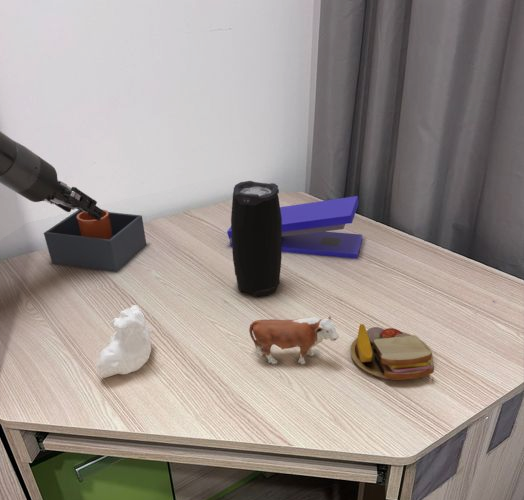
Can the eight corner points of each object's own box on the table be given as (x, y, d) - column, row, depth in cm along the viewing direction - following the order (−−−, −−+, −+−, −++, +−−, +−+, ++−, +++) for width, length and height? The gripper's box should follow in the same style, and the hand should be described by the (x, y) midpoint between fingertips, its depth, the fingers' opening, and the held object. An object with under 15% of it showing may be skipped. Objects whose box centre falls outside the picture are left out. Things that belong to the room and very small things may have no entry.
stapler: (356, 261, 111) (361, 215, 105) (226, 249, 117) (224, 205, 111) (362, 238, 120) (366, 195, 114) (241, 227, 126) (239, 186, 120)
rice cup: (79, 257, 113) (70, 219, 108) (95, 245, 118) (87, 207, 113) (106, 261, 112) (98, 222, 107) (121, 248, 117) (113, 210, 112)
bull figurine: (335, 372, 82) (339, 327, 77) (248, 364, 83) (246, 320, 79) (337, 354, 85) (340, 311, 80) (253, 348, 87) (252, 305, 82)
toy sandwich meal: (422, 335, 89) (426, 311, 86) (441, 388, 78) (447, 362, 75) (346, 335, 89) (348, 311, 86) (355, 388, 78) (357, 362, 76)
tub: (52, 264, 112) (43, 232, 108) (86, 238, 122) (79, 208, 118) (117, 273, 109) (110, 241, 104) (146, 246, 119) (142, 215, 115)
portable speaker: (287, 281, 105) (289, 181, 93) (269, 304, 98) (268, 200, 86) (247, 273, 107) (244, 175, 96) (227, 295, 101) (220, 193, 89)
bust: (112, 399, 81) (143, 362, 73) (72, 366, 80) (99, 325, 72) (154, 354, 90) (185, 317, 82) (118, 324, 89) (146, 284, 81)
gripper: (58, 157, 91) (118, 201, 106) (4, 145, 97) (68, 188, 112) (41, 198, 91) (103, 236, 105) (-12, 183, 97) (54, 221, 111)
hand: (85, 211), depth 109 cm, fingers open, 8 cm apart
